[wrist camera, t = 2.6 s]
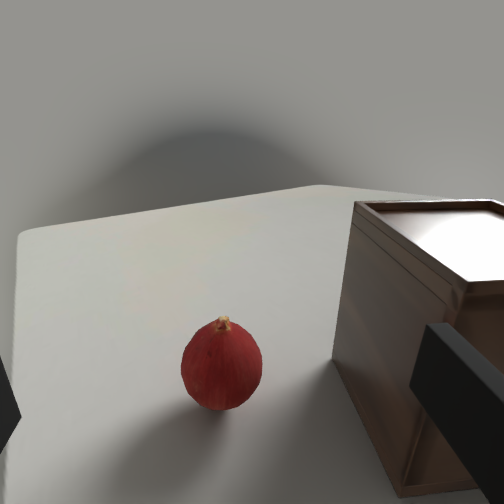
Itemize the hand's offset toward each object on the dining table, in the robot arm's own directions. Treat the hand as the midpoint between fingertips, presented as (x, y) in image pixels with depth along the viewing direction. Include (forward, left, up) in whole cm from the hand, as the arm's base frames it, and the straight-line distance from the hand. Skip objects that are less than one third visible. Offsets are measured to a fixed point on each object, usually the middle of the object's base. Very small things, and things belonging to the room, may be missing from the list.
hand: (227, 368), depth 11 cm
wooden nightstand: (-16, -9, -13) cm, 22 cm away
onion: (0, -11, -14) cm, 17 cm away
